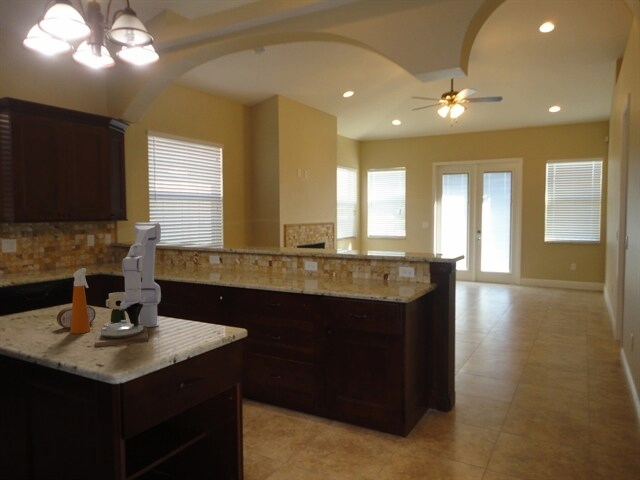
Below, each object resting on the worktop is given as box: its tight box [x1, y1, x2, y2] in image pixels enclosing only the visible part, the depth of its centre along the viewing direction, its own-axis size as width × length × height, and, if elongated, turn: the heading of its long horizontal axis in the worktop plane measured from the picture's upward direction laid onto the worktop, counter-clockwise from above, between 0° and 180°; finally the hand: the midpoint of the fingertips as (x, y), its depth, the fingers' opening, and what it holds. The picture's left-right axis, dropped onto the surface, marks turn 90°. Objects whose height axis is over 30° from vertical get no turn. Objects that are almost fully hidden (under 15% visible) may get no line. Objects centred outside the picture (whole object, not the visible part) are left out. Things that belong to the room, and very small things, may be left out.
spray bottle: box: [70, 267, 91, 335], centre depth 182 cm, size 7×11×26 cm, turn 53°
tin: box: [56, 304, 97, 329], centre depth 193 cm, size 15×3×8 cm, turn 141°
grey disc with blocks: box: [100, 318, 143, 338], centre depth 176 cm, size 15×15×7 cm
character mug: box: [105, 291, 127, 324], centre depth 198 cm, size 11×7×13 cm, turn 148°
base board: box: [94, 326, 149, 348], centre depth 176 cm, size 18×18×2 cm
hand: (133, 323), depth 174 cm, fingers closed
